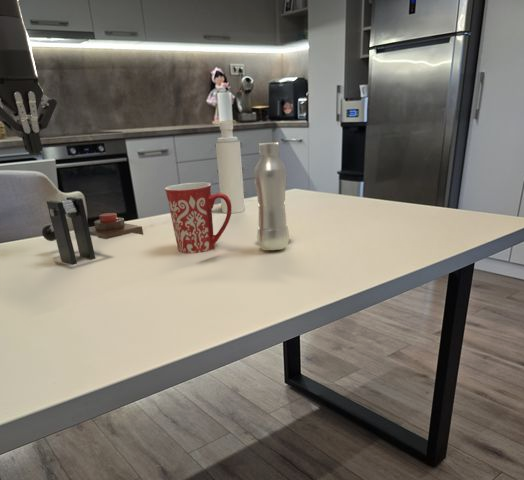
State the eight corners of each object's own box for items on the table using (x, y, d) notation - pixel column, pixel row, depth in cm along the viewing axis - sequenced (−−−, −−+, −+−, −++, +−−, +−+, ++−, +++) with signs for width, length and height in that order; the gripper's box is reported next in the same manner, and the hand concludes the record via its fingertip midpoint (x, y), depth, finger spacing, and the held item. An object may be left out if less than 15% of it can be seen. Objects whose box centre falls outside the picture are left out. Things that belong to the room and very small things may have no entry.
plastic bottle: (252, 253, 96) (245, 145, 87) (265, 244, 102) (259, 142, 93) (282, 254, 94) (278, 144, 85) (294, 245, 100) (291, 141, 91)
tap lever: (44, 244, 99) (37, 230, 99) (59, 241, 101) (52, 227, 101) (64, 215, 88) (56, 199, 88) (80, 212, 91) (73, 197, 90)
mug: (167, 260, 95) (156, 190, 89) (182, 248, 103) (174, 183, 97) (229, 260, 93) (222, 187, 86) (239, 248, 100) (234, 180, 94)
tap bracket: (49, 267, 96) (31, 201, 90) (85, 257, 101) (71, 194, 95) (74, 275, 90) (56, 205, 84) (111, 264, 95) (97, 198, 89)
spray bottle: (244, 212, 135) (237, 114, 124) (221, 214, 135) (211, 115, 124) (245, 208, 141) (238, 114, 130) (222, 209, 141) (213, 115, 130)
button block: (81, 238, 118) (77, 221, 116) (116, 230, 124) (113, 214, 123) (107, 244, 111) (104, 227, 109) (143, 235, 117) (140, 218, 115)
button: (97, 222, 116) (96, 215, 115) (112, 219, 118) (110, 212, 118) (106, 224, 113) (104, 216, 113) (121, 221, 116) (119, 213, 115)
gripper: (36, 53, 92) (58, 151, 100) (-39, 51, 84) (-8, 157, 91) (53, 48, 87) (76, 151, 95) (-23, 46, 79) (8, 158, 87)
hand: (35, 154), depth 93 cm, fingers closed
